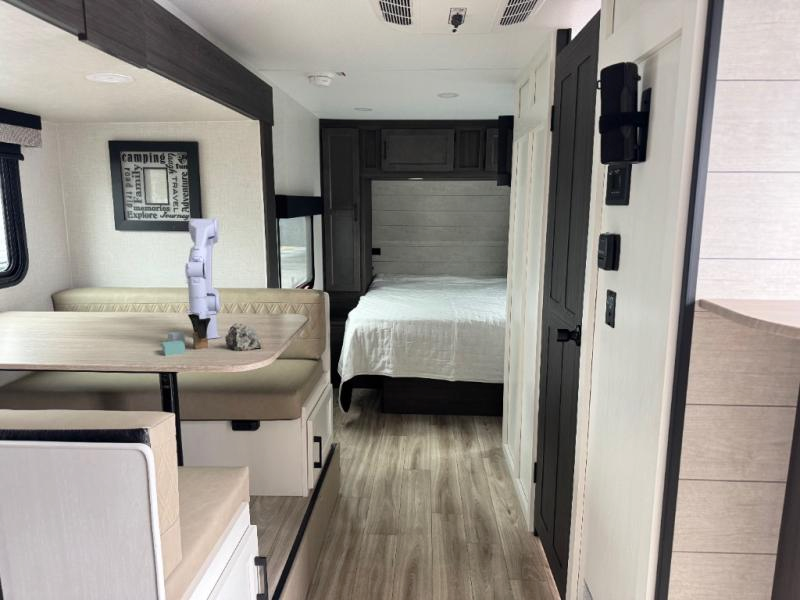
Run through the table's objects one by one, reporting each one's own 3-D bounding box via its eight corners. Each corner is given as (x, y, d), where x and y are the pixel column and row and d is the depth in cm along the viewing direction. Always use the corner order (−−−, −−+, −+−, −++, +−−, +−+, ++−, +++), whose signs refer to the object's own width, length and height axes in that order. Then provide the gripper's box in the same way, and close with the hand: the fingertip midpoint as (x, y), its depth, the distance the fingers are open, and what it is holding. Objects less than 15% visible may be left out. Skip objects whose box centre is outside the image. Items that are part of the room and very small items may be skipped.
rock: (225, 358, 174) (242, 335, 172) (216, 340, 180) (232, 317, 178) (257, 366, 184) (273, 344, 182) (247, 348, 190) (262, 327, 188)
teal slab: (162, 352, 176) (161, 342, 175) (181, 350, 179) (181, 340, 178) (165, 356, 171) (164, 346, 170) (185, 354, 174) (184, 343, 173)
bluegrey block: (168, 347, 182) (167, 332, 181) (179, 344, 185) (178, 331, 184) (174, 349, 180) (173, 334, 179) (185, 346, 183) (184, 332, 182)
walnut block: (193, 347, 182) (192, 332, 182) (205, 345, 184) (205, 331, 184) (195, 349, 179) (194, 335, 178) (208, 348, 181) (207, 334, 180)
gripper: (182, 295, 183) (184, 333, 185) (188, 300, 171) (191, 341, 173) (203, 293, 187) (205, 331, 189) (211, 299, 174) (213, 339, 176)
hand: (200, 336), depth 181 cm, fingers open, 7 cm apart
